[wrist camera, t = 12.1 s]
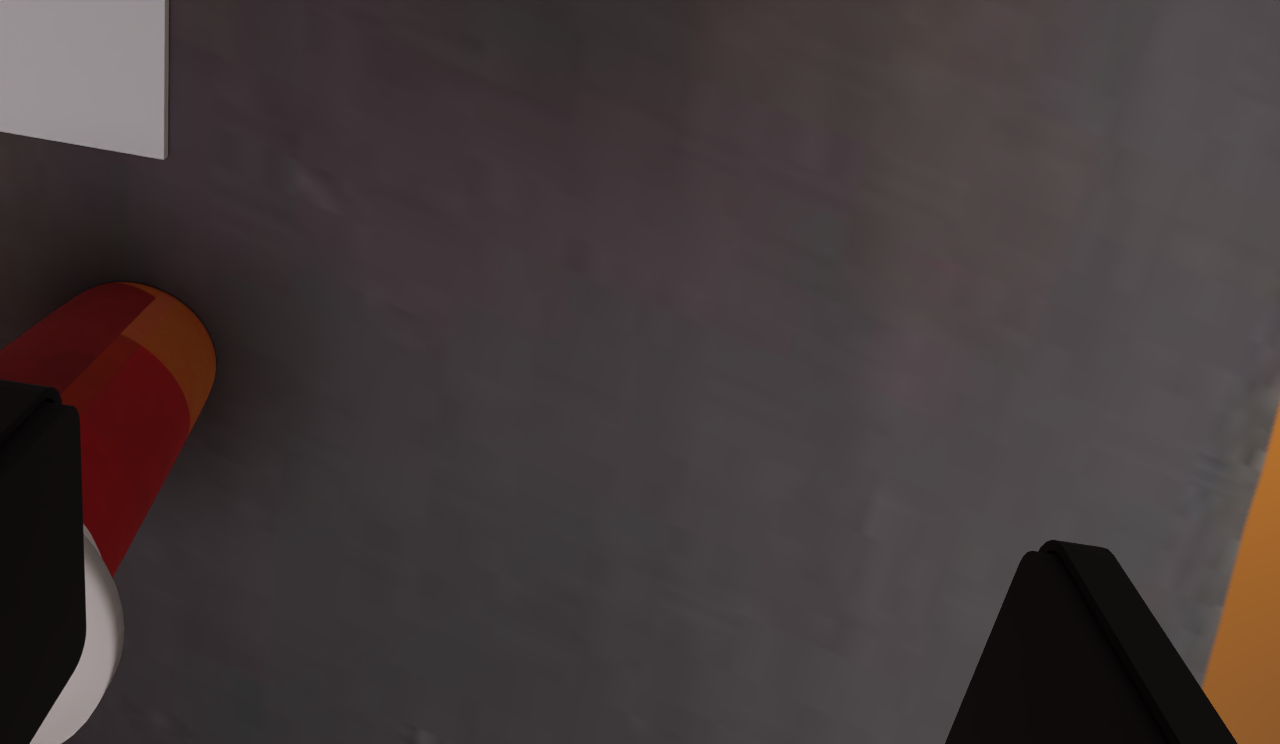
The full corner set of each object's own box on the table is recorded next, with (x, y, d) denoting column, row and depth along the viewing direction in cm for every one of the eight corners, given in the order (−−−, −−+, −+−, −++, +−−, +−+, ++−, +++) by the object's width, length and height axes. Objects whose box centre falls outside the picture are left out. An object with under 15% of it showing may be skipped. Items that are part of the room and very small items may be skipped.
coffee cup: (-2, 390, 44) (-271, 650, 31) (63, 212, 41) (-206, 414, 28) (207, 480, 46) (40, 761, 33) (284, 316, 43) (134, 553, 30)
